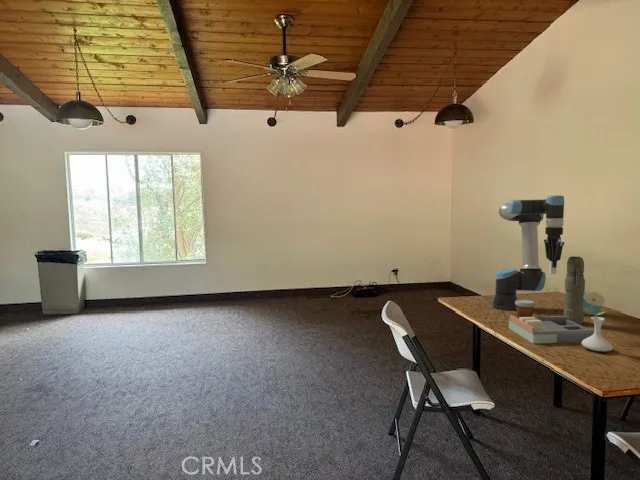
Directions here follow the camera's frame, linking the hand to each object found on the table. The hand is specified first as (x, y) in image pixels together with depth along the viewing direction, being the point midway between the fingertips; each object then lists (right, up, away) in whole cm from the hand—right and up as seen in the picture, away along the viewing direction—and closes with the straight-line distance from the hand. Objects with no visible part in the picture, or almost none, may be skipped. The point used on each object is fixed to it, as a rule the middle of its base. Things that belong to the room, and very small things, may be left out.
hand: (552, 273), depth 197 cm
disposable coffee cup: (-8, -28, +13) cm, 31 cm away
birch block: (-15, -25, -6) cm, 30 cm away
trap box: (-3, -29, -5) cm, 30 cm away
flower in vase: (+4, -31, -24) cm, 39 cm away
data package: (+36, -25, +28) cm, 52 cm away
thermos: (+18, -27, +12) cm, 35 cm away
